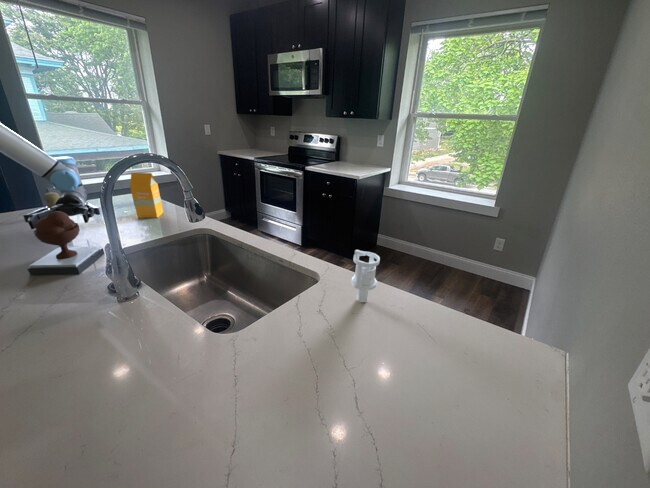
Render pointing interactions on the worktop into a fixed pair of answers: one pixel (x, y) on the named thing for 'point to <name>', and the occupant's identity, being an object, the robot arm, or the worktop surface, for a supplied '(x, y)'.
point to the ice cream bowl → (58, 232)
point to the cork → (51, 199)
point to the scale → (66, 262)
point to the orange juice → (146, 195)
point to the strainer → (364, 274)
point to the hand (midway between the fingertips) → (58, 222)
